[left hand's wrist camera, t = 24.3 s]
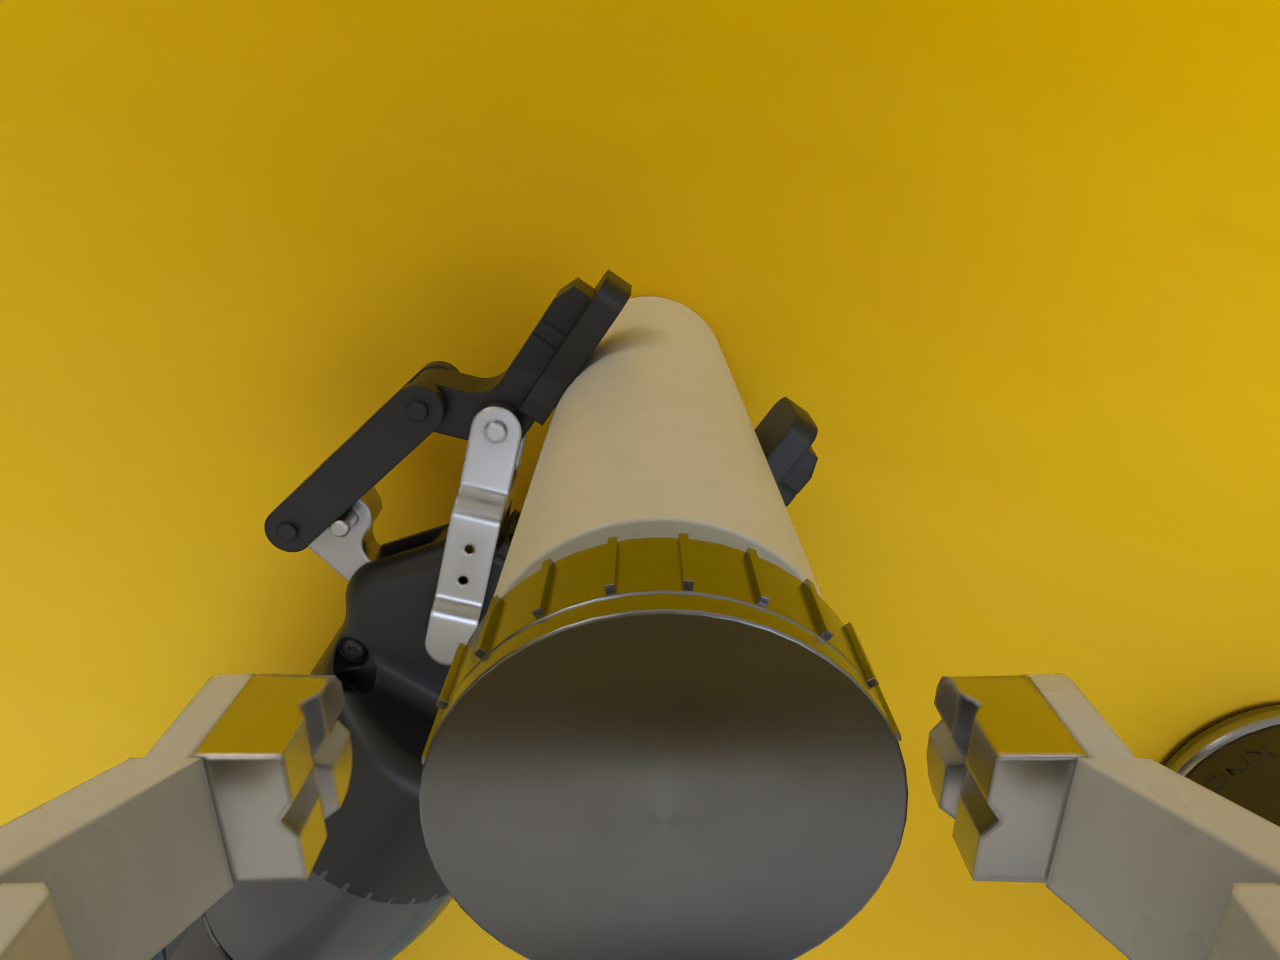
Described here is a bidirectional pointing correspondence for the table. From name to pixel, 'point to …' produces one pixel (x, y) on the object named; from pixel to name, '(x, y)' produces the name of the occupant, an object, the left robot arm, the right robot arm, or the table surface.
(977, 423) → the table surface
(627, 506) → the cream cylinder
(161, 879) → the left robot arm
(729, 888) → the lid
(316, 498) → the right robot arm
